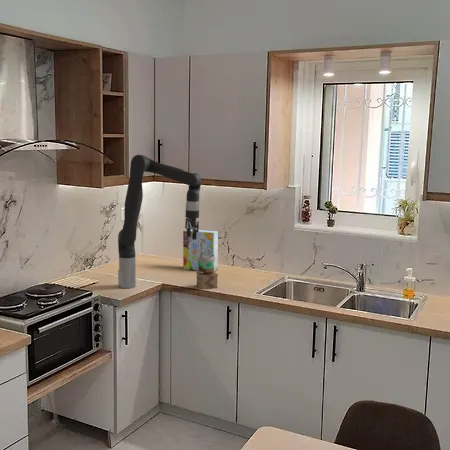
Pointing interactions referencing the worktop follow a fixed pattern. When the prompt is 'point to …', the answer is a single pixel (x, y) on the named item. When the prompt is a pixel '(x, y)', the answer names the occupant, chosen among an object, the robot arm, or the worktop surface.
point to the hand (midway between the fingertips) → (191, 238)
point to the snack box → (199, 248)
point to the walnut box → (207, 281)
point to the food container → (206, 265)
